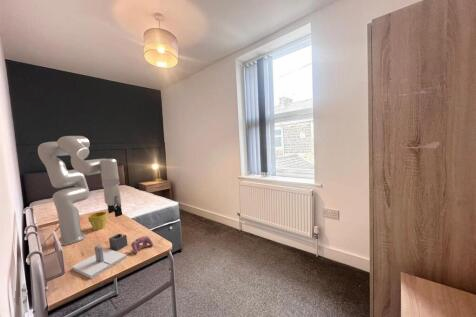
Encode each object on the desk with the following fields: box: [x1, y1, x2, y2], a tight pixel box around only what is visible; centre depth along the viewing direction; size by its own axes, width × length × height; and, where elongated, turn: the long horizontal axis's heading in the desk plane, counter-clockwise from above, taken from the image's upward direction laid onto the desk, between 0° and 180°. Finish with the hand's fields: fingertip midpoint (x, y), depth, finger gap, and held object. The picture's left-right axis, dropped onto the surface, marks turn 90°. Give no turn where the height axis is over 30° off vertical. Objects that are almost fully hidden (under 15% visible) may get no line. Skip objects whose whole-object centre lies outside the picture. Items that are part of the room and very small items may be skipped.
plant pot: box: [87, 211, 108, 231], centre depth 135 cm, size 10×10×10 cm
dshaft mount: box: [71, 244, 127, 279], centre depth 95 cm, size 16×16×8 cm
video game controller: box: [131, 235, 154, 255], centre depth 106 cm, size 10×5×7 cm, turn 141°
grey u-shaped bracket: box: [108, 233, 128, 252], centre depth 109 cm, size 6×6×6 cm
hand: (115, 214), depth 105 cm, fingers open, 9 cm apart
